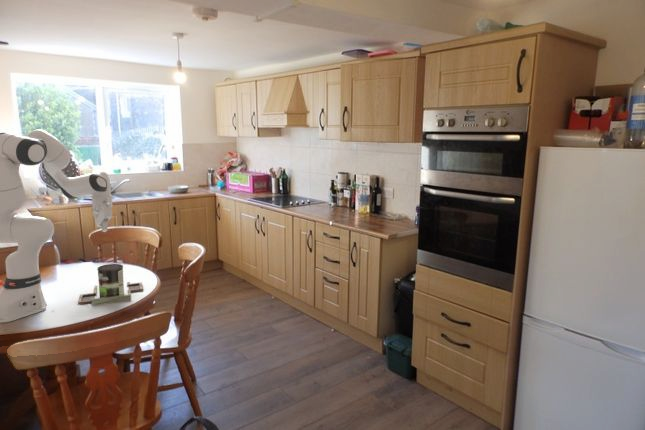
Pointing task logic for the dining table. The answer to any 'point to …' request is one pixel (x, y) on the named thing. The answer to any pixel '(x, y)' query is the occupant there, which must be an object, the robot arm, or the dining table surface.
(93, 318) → the dining table surface
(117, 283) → the coffee can
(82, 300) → the lane
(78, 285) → the dining table surface
